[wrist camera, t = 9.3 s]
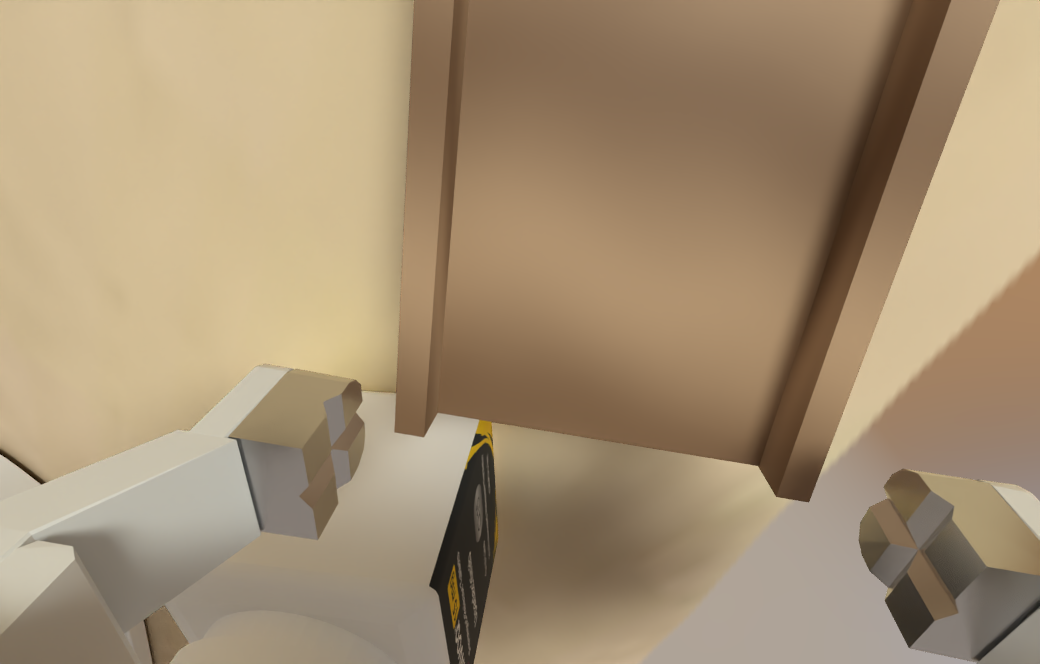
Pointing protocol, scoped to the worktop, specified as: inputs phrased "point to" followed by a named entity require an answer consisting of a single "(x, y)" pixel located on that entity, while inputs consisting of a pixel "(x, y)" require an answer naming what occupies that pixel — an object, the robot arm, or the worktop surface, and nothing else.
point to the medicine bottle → (365, 562)
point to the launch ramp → (666, 212)
